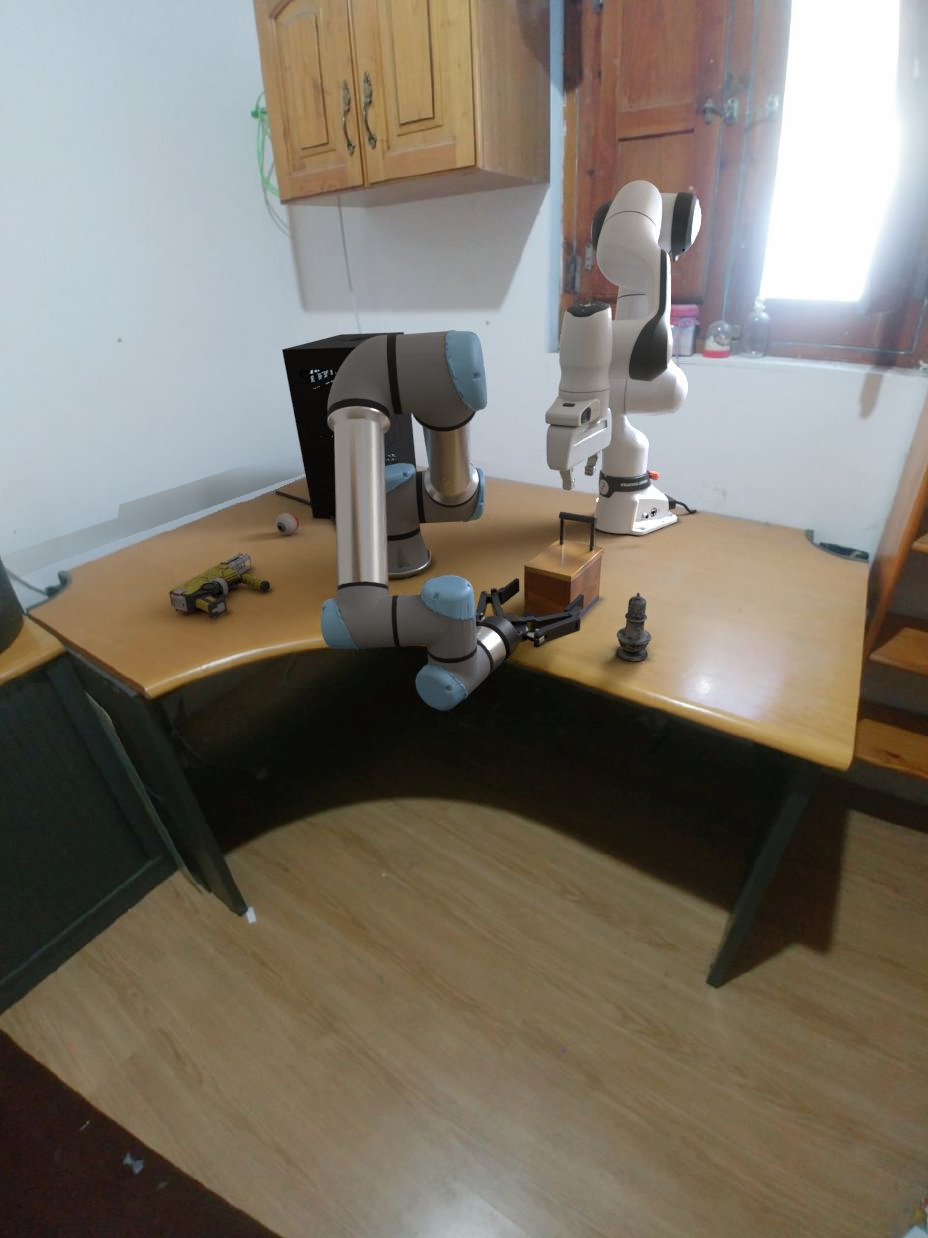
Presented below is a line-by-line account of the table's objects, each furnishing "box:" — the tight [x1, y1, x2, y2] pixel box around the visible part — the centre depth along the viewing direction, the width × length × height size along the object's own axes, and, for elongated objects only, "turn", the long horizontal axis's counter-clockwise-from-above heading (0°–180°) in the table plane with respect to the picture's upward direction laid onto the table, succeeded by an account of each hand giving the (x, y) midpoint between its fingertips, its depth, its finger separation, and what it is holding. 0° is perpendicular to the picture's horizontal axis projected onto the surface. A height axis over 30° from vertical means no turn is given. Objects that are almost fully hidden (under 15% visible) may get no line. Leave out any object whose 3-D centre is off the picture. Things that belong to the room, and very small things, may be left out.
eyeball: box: [275, 511, 300, 536], centre depth 163 cm, size 6×6×6 cm
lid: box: [523, 511, 605, 582], centre depth 115 cm, size 15×10×8 cm, turn 145°
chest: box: [523, 554, 603, 618], centre depth 120 cm, size 14×10×10 cm
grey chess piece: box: [616, 592, 652, 662], centre depth 103 cm, size 6×6×12 cm
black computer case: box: [281, 331, 418, 519], centre depth 178 cm, size 38×20×45 cm, turn 167°
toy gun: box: [168, 552, 271, 619], centre depth 134 cm, size 5×24×15 cm
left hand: (548, 592), depth 114 cm, fingers open, 13 cm apart
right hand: (579, 481), depth 114 cm, fingers open, 8 cm apart
